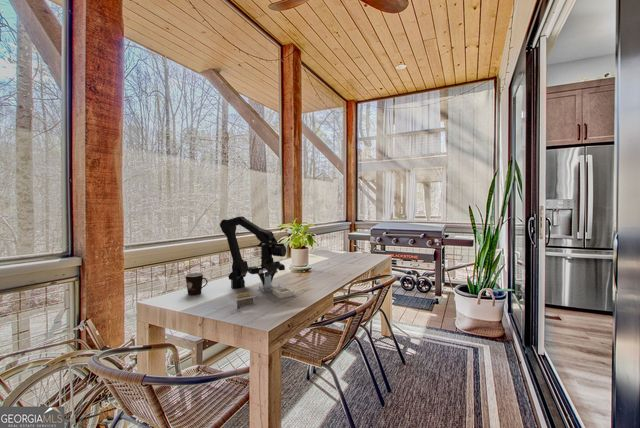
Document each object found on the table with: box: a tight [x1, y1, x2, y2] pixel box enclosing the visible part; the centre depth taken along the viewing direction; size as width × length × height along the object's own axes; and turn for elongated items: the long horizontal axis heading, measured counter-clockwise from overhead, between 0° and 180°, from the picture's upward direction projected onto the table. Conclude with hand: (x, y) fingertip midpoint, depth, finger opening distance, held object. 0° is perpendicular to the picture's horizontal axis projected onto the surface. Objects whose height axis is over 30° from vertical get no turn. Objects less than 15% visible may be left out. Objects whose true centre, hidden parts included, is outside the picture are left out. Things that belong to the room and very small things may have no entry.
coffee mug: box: [184, 272, 209, 297], centre depth 158 cm, size 12×9×10 cm
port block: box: [273, 286, 295, 298], centre depth 154 cm, size 8×8×3 cm
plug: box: [262, 271, 272, 288], centre depth 160 cm, size 3×3×10 cm
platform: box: [234, 291, 257, 310], centre depth 141 cm, size 12×18×7 cm, turn 126°
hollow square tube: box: [258, 284, 276, 293], centre depth 160 cm, size 6×6×2 cm
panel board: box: [255, 285, 299, 302], centre depth 157 cm, size 14×22×1 cm, turn 33°
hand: (266, 284), depth 160 cm, fingers closed on plug, 3 cm apart
